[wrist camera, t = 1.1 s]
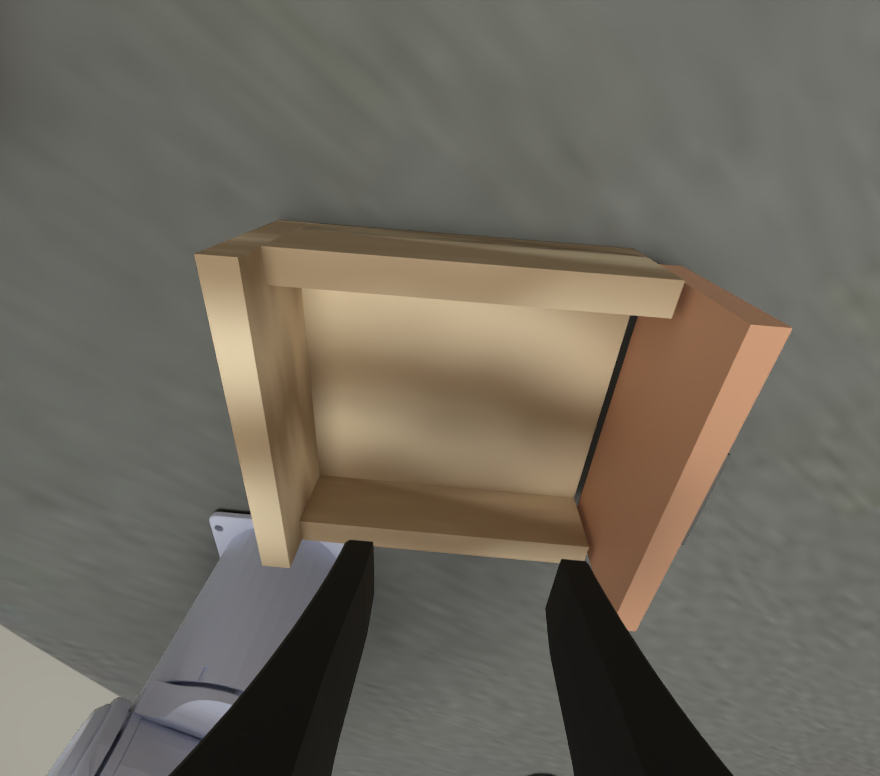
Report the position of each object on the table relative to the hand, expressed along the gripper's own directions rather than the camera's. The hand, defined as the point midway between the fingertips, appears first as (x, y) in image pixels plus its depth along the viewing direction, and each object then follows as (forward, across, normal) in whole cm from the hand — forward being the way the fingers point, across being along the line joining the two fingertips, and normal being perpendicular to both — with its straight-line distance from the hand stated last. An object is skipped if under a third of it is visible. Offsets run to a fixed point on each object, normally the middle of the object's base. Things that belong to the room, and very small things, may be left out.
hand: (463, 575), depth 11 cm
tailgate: (+9, -7, 0) cm, 12 cm away
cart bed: (+10, +1, 0) cm, 10 cm away
